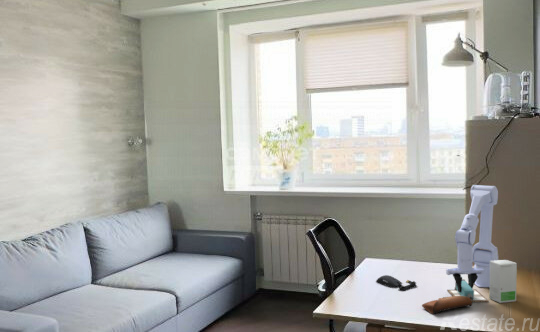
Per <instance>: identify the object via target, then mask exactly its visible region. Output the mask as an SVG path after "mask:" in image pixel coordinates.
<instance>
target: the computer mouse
mask: <svg viewBox="0 0 540 332" xmlns="http://www.w3.org/2000/svg"><path fill="white" fill-rule="evenodd" d="M375 282H376V283H377V284H378V285H383V286H386V287H387V286H388V287H390V288H396V287H398V289H397V291H399V292H401V291H402V292H403V291H404V292H406V291H407V290H408V289H413V288H416V287H418V286H417V282H416V281H414V280H413V281H411V280H408V279H407V280H406V282H405V283H406V284H407V285H404V286H403V285H402V284H403V282H401V281H400V280H398V279H397V278H396V277H393V275H388V274H385V275H382V276H380V277H378V278H377V279H376V280H375ZM401 285H402V286H401Z"/></svg>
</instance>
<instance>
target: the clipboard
mask: <svg viewBox="0 0 540 332" xmlns="http://www.w3.org/2000/svg"><path fill="white" fill-rule="evenodd" d="M473 291H474V300H471V301H472V303H489V302H490V301H489V300H488V298H486V297H485V296H484V295H483V294H482V293H481V292H479V290H478V289H474V288H473ZM447 292H448V294H449V295H450V296H461V294H460V293H459V292H458V290H457V289H456V288H455V287H454V289H447Z"/></svg>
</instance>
